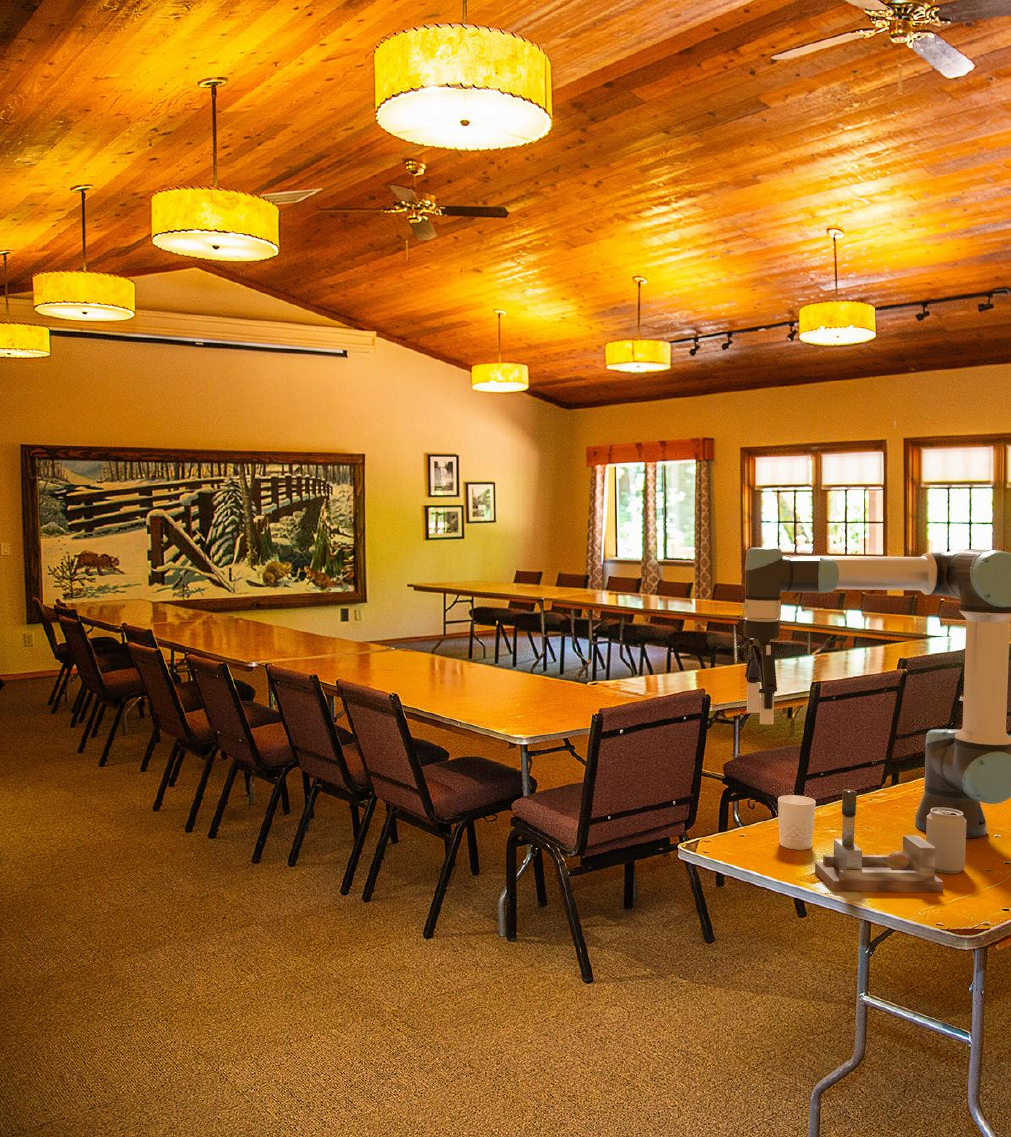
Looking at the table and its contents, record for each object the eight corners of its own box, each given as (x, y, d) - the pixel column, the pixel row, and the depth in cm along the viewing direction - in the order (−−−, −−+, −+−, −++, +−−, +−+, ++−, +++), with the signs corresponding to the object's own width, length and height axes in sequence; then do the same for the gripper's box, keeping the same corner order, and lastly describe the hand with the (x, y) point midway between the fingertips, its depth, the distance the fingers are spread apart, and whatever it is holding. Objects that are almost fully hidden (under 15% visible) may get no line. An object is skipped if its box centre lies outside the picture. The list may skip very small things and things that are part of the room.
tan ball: (903, 868, 204) (904, 848, 204) (912, 875, 200) (912, 854, 200) (883, 868, 204) (884, 848, 204) (891, 875, 200) (892, 854, 200)
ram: (848, 864, 205) (850, 786, 205) (861, 876, 198) (863, 796, 198) (833, 863, 205) (835, 786, 205) (846, 876, 198) (848, 796, 198)
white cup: (816, 852, 220) (817, 805, 220) (777, 849, 222) (779, 803, 221) (812, 841, 228) (813, 796, 228) (775, 838, 229) (776, 794, 229)
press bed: (918, 872, 208) (919, 833, 208) (943, 892, 197) (944, 850, 197) (814, 872, 207) (815, 832, 207) (833, 891, 196) (834, 849, 196)
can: (961, 877, 205) (963, 817, 205) (921, 870, 209) (923, 811, 209) (967, 867, 212) (969, 809, 211) (928, 860, 216) (930, 803, 215)
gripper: (733, 614, 234) (731, 707, 235) (756, 624, 209) (754, 728, 210) (766, 614, 234) (764, 708, 235) (793, 625, 209) (791, 729, 210)
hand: (759, 718), depth 223 cm, fingers open, 13 cm apart
